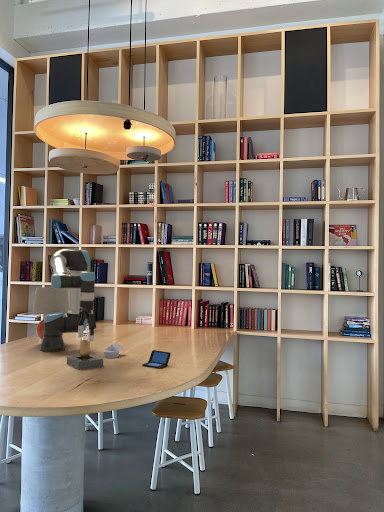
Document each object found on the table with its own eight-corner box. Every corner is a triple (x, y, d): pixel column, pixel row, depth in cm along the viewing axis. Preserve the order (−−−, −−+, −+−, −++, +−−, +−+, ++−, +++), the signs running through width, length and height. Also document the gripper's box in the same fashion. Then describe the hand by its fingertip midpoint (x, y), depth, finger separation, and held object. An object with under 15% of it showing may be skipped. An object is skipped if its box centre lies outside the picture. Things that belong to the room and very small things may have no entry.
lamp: (73, 341, 300) (75, 287, 301) (59, 347, 275) (61, 288, 277) (40, 340, 302) (43, 286, 304) (23, 346, 277) (26, 287, 279)
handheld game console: (141, 366, 227) (141, 352, 227) (152, 363, 237) (152, 349, 237) (160, 369, 221) (161, 355, 222) (171, 365, 231) (171, 352, 231)
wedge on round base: (110, 353, 261) (100, 356, 249) (111, 342, 262) (101, 345, 249) (123, 354, 259) (114, 358, 246) (124, 343, 259) (114, 346, 247)
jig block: (66, 363, 228) (66, 356, 228) (90, 361, 237) (90, 353, 237) (78, 369, 215) (78, 361, 216) (103, 366, 224) (103, 358, 224)
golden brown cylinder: (78, 362, 227) (79, 340, 227) (87, 361, 230) (87, 339, 230) (82, 364, 223) (82, 341, 223) (91, 363, 226) (91, 340, 226)
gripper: (71, 298, 235) (70, 336, 234) (90, 302, 215) (88, 343, 215) (84, 298, 240) (82, 335, 239) (103, 302, 220) (102, 342, 219)
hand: (85, 339), depth 227 cm, fingers open, 13 cm apart
